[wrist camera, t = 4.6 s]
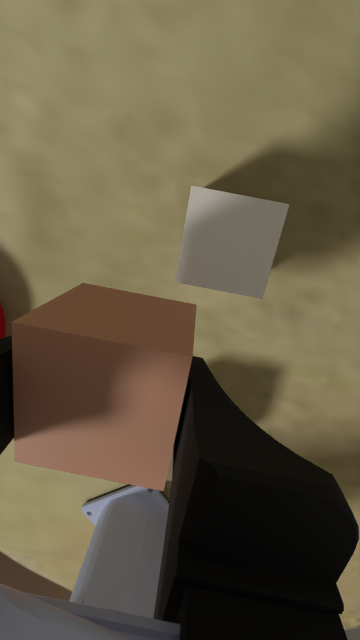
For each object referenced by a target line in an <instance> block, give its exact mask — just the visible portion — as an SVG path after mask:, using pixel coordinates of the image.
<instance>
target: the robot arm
mask: <svg viewBox="0 0 360 640" xmlns="http://www.w3.org/2000/svg"><path fill="white" fill-rule="evenodd" d="M13 438H14V402H13V363H12V336H9V337H5V338H1V339H0V454H1V453H2V452H3V451H4V449H5V448H6V447H7V445H8V444H9V443H10V442H11V441H12V439H13ZM81 510H82V511H83V513H84V514H85V515H86V516H87V517H88V518H89V519H90V521H91V522H92V523H93V524H94V525H95V529H94V532H93V535H92V538H91V541H90V543H89V546H88V549H87V552H86V555H85V558H84V561H83V564H82V566H81V569H80V572H79V575H78V578H77V581H76V584H75V587H74V589H73V592H72V595H71V598H70V601H69V602H68V601H63V600H59V599H53V598H48V597H44V596H39V595H34V594H29V593H24V592H21V591H18V590H16V589H14V588H11V587H8V586H6V585H3V584H1V583H0V640H347V637H346V634H345V631H344V628H343V625H342V622H341V619H340V617H339V614H342V612H343V611H344V605H343V601H342V598H341V596H340V593H339V590H338V587H337V585H336V582H337V581H338V579H339V577H340V575H341V574H342V572H343V570H344V569H345V567H346V565H347V563H348V562H349V560H350V558H351V556H352V555H353V553H354V551H355V548H356V545H357V543H358V540H359V530H358V524H357V522H356V520H355V517H354V515H353V513H352V511H351V509H350V507H349V505H348V503H347V501H346V499H345V497H344V495H343V493H342V491H341V489H340V487H339V485H338V484H337V482H336V480H335V479H334V477H333V475H332V474H330V473H328V472H327V471H325V470H323V469H321V468H320V467H318V466H316V465H314V464H313V463H311V462H309V461H307V460H306V459H304V458H302V457H301V456H299V455H297V454H296V453H294V452H293V451H291V450H290V449H288V448H287V447H285V446H284V445H282V444H281V443H279V442H278V441H276V440H275V439H274V438H272V437H271V436H270V435H268V434H267V433H266V432H265V431H263V430H262V429H261V428H260V427H259V426H257V425H256V424H255V423H254V422H253V421H251V420H250V419H249V418H248V417H247V416H246V415H245V414H244V413H243V412H242V411H241V410H240V409H239V408H238V407H237V406H236V405H235V404H234V403H233V402H232V400H231V399H230V398H229V397H228V396H227V394H226V393H225V392H224V391H223V389H222V388H221V387H220V385H219V384H218V382H217V381H216V379H215V378H214V376H213V375H212V373H211V371H210V370H209V368H208V366H207V364H206V363H205V361H204V359H203V358H200V357H195V356H193V357H192V362H191V366H190V371H189V376H188V380H187V385H186V390H185V394H184V399H183V404H182V408H181V413H180V418H179V422H178V427H177V432H176V436H175V441H174V446H173V472H172V486H171V494H170V501H169V503H168V501H167V500H166V499H165V497H164V496H163V495H162V494H161V492H160V491H159V490H155V489H150V488H145V487H140V486H135V485H131V486H128V487H125V488H123V489H120V490H118V491H115V492H113V493H110V494H107V495H105V496H102V497H100V498H97V499H94V500H92V501H89V502H87V503H84V504H83V506H82V508H81Z"/></svg>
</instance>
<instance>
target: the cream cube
mask: <svg viewBox="0 0 360 640" xmlns="http://www.w3.org/2000/svg"><path fill="white" fill-rule="evenodd" d="M288 208H289V204H286V203H281V202H275V201H270V200H265V199H260V198H254V197H249V196H244V195H238V194H233V193H228V192H222V191H217V190H212V189H207V188H201V187H196V186H191V192H190V198H189V203H188V209H187V215H186V221H185V226H184V232H183V238H182V244H181V249H180V255H179V261H178V267H177V272H176V278H175V282H177V283H183V284H188V285H193V286H198V287H204V288H209V289H214V290H219V291H224V292H230V293H235V294H240V295H245V296H250V297H256V298H261V299H263V295H264V292H265V288H266V285H267V281H268V278H269V274H270V271H271V267H272V264H273V260H274V257H275V253H276V250H277V246H278V243H279V239H280V236H281V232H282V229H283V225H284V222H285V218H286V215H287V211H288Z"/></svg>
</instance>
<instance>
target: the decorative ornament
mask: <svg viewBox="0 0 360 640" xmlns="http://www.w3.org/2000/svg"><path fill="white" fill-rule="evenodd" d="M4 335H5V319H4V314H3V310H2V307H1V304H0V339H1V338H4Z"/></svg>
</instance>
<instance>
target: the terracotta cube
mask: <svg viewBox="0 0 360 640" xmlns="http://www.w3.org/2000/svg"><path fill="white" fill-rule="evenodd" d="M195 317H196V305H195V304H190V303H185V302H180V301H174V300H169V299H164V298H159V297H154V296H148V295H143V294H138V293H133V292H127V291H122V290H117V289H112V288H107V287H101V286H96V285H91V284H86V283H82V284H80V285H79V286H77V287H75V288H73V289H71V290H69V291H68V292H66V293H64V294H62V295H60V296H58V297H56V298H55V299H53V300H51V301H49V302H47V303H45V304H44V305H42V306H40V307H38V308H36V309H34V310H32V311H31V312H29V313H27V314H25V315H23V316H21V317H19V318H18V319H16V320H14V321H12V322H11V325H12V363H13V402H14V441H15V462H19V463H24V464H29V465H34V466H39V467H44V468H50V469H55V470H60V471H65V472H70V473H75V474H80V475H85V476H90V477H95V478H100V479H105V480H110V481H115V482H120V483H125V484H130V485H135V486H140V487H145V488H150V489H155V490H160V491H164V488H165V483H166V478H167V474H168V469H169V464H170V460H171V455H172V450H173V446H174V441H175V436H176V432H177V427H178V422H179V418H180V413H181V408H182V404H183V399H184V394H185V390H186V385H187V380H188V376H189V371H190V366H191V362H192V357H193V344H194V330H195Z"/></svg>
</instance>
